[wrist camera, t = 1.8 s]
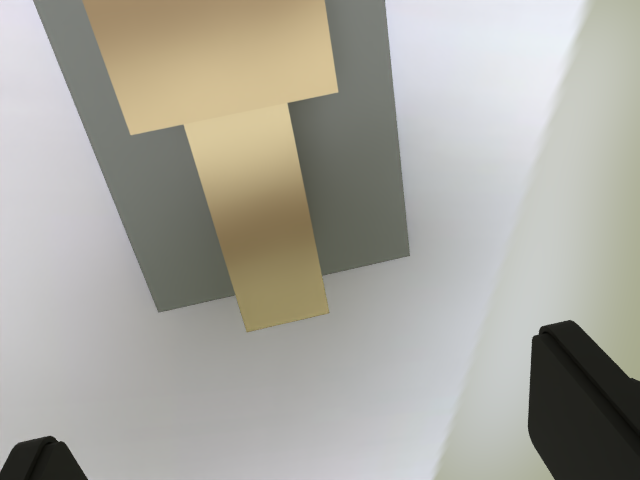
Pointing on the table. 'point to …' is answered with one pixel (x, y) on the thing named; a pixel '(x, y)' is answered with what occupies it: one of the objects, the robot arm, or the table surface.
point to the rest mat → (311, 143)
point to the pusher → (232, 125)
